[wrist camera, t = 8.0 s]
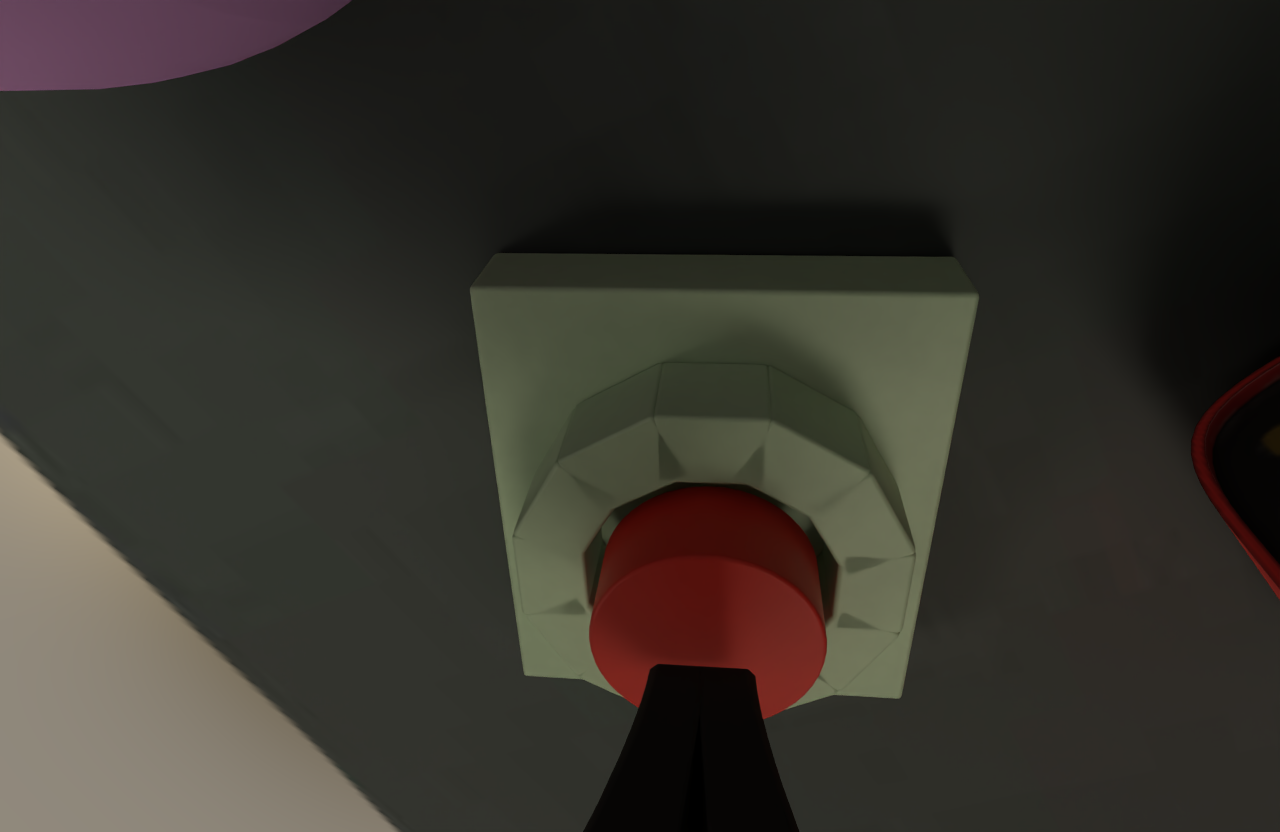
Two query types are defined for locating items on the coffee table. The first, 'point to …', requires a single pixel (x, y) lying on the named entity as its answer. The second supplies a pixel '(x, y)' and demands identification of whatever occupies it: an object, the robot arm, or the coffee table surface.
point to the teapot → (140, 38)
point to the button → (710, 594)
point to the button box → (724, 425)
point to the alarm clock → (1245, 465)
